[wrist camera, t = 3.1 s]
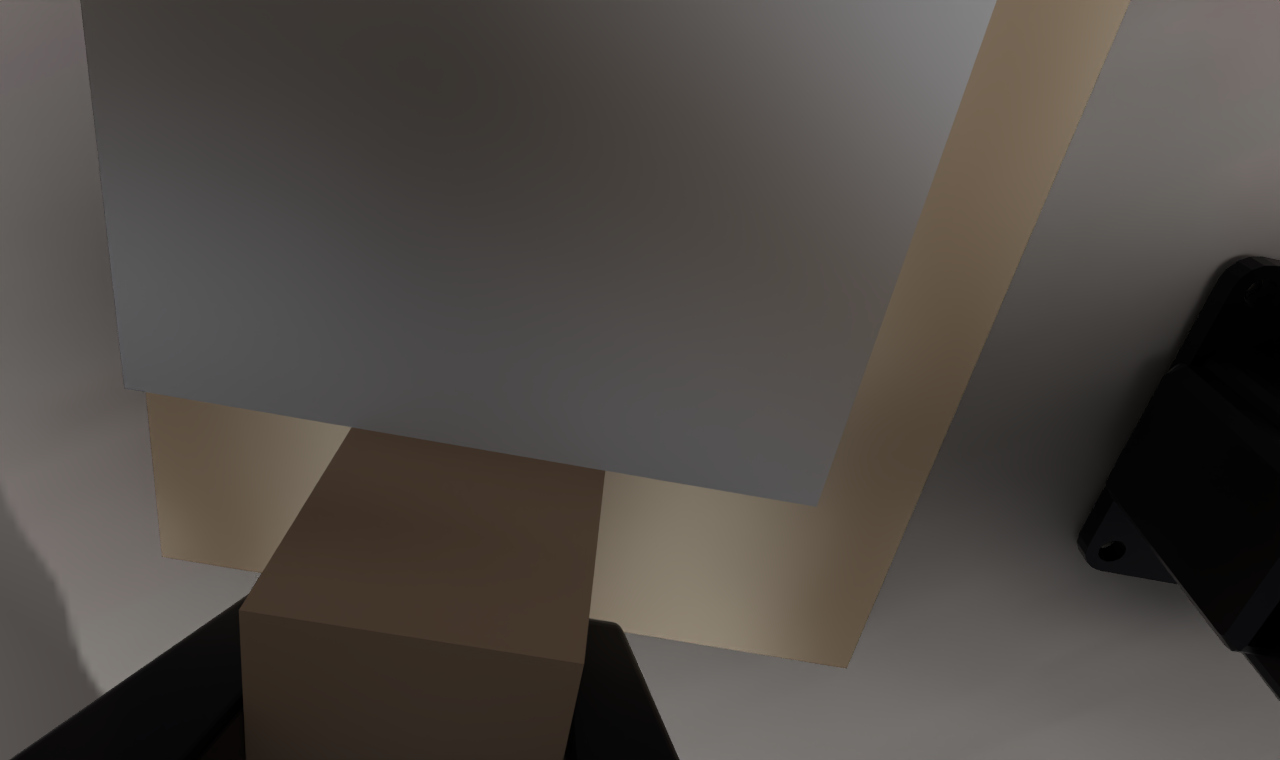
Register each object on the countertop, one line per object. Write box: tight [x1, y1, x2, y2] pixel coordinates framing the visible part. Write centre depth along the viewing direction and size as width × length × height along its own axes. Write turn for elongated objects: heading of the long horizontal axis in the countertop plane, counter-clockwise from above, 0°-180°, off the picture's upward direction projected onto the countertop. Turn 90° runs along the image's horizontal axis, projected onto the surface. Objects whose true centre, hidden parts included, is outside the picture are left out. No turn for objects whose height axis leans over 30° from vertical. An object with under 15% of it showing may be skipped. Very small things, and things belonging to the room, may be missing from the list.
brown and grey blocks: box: [80, 0, 997, 760], centre depth 7 cm, size 12×6×3 cm, turn 169°
